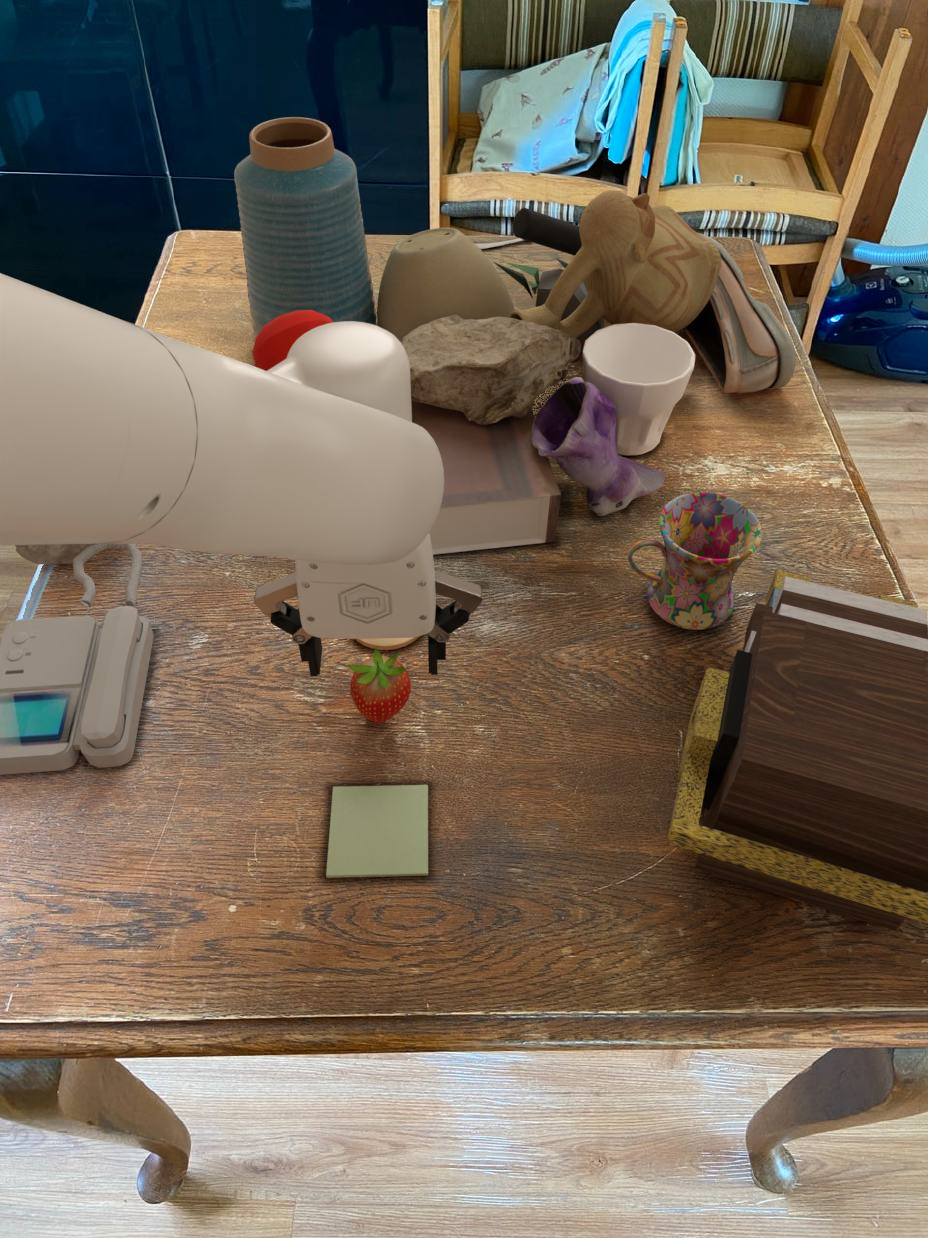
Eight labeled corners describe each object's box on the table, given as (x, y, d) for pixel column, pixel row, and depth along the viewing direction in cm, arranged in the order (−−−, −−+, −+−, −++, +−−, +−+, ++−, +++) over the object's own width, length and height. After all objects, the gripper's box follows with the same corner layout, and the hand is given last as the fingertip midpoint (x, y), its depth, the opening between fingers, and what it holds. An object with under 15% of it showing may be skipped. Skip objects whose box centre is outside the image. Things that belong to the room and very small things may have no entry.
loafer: (691, 205, 122) (628, 222, 121) (811, 331, 106) (740, 353, 105) (681, 274, 131) (622, 291, 130) (791, 401, 115) (725, 422, 113)
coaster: (427, 649, 86) (427, 645, 86) (343, 651, 86) (343, 647, 86) (427, 588, 92) (427, 584, 91) (348, 589, 92) (348, 585, 91)
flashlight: (639, 255, 133) (640, 288, 133) (508, 211, 120) (508, 248, 119) (665, 242, 129) (665, 276, 129) (531, 195, 115) (532, 233, 115)
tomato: (319, 284, 88) (342, 332, 86) (350, 352, 98) (371, 398, 96) (228, 326, 88) (248, 376, 86) (269, 390, 98) (288, 436, 96)
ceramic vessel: (764, 252, 108) (642, 227, 91) (668, 384, 120) (544, 384, 103) (674, 171, 114) (544, 134, 97) (592, 304, 126) (464, 292, 110)
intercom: (158, 525, 90) (118, 738, 74) (168, 556, 94) (132, 765, 78) (22, 533, 90) (-48, 749, 74) (38, 563, 93) (-26, 776, 77)
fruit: (364, 687, 83) (357, 631, 77) (418, 697, 83) (415, 641, 77) (346, 734, 80) (337, 680, 74) (403, 745, 79) (398, 691, 73)
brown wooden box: (706, 624, 90) (650, 886, 70) (743, 508, 79) (691, 777, 59) (929, 681, 85) (938, 977, 65) (999, 567, 75) (1036, 877, 55)
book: (506, 388, 114) (508, 342, 109) (555, 541, 96) (560, 494, 91) (312, 405, 112) (305, 359, 107) (324, 566, 93) (317, 519, 88)
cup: (670, 403, 112) (688, 323, 104) (683, 468, 104) (703, 386, 96) (570, 401, 112) (579, 320, 104) (575, 465, 104) (585, 383, 96)
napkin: (428, 875, 71) (428, 873, 71) (326, 878, 71) (325, 876, 71) (428, 787, 77) (427, 784, 76) (333, 789, 76) (332, 786, 76)
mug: (718, 565, 94) (742, 487, 86) (748, 633, 88) (777, 555, 80) (605, 576, 93) (619, 498, 85) (628, 646, 87) (646, 568, 79)
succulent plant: (483, 348, 120) (485, 287, 114) (501, 273, 133) (503, 215, 127) (602, 358, 119) (610, 298, 112) (608, 281, 132) (616, 223, 125)
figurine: (539, 476, 91) (634, 542, 99) (605, 394, 89) (697, 469, 97) (508, 441, 99) (598, 505, 107) (568, 364, 96) (656, 436, 104)
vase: (232, 341, 121) (187, 128, 101) (332, 300, 128) (309, 93, 108) (301, 396, 113) (268, 176, 93) (404, 349, 120) (393, 135, 100)
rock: (411, 452, 100) (587, 403, 95) (379, 372, 95) (562, 316, 89) (433, 394, 113) (589, 348, 108) (406, 321, 108) (567, 269, 103)
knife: (555, 230, 142) (555, 225, 142) (561, 237, 141) (561, 231, 140) (438, 251, 139) (437, 246, 138) (442, 258, 137) (442, 253, 137)
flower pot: (325, 265, 111) (354, 358, 119) (434, 265, 101) (459, 368, 108) (417, 215, 121) (439, 304, 128) (526, 210, 110) (543, 308, 118)
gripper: (225, 542, 59) (264, 700, 72) (488, 540, 60) (481, 697, 73) (241, 470, 65) (275, 629, 77) (483, 468, 65) (477, 627, 78)
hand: (375, 662), depth 75 cm, fingers open, 9 cm apart
